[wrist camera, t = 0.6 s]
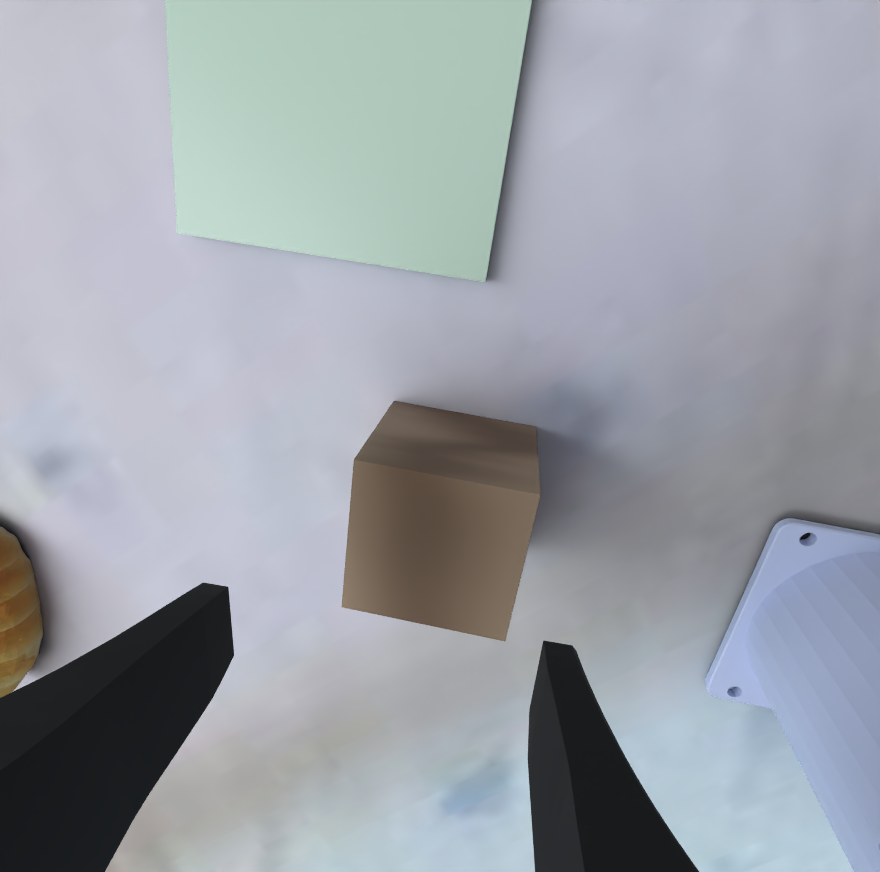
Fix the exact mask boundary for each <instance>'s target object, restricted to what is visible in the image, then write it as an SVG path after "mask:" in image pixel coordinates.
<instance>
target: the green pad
mask: <svg viewBox="0 0 880 872" xmlns="http://www.w3.org/2000/svg"><path fill="white" fill-rule="evenodd" d="M531 6H532V0H165V15H166V34H167V54H168V73H169V92H170V111H171V130H172V149H173V168H174V187H175V206H176V225H177V233H179V234H185V235H191V236H197V237H204V238H210V239H216V240H223V241H229V242H235V243H241V244H248V245H254V246H260V247H266V248H273V249H279V250H285V251H291V252H298V253H304V254H310V255H316V256H323V257H329V258H335V259H342V260H348V261H354V262H360V263H367V264H373V265H379V266H385V267H392V268H398V269H404V270H410V271H417V272H423V273H429V274H435V275H442V276H448V277H454V278H461V279H467V280H473V281H479V282H486V278H487V272H488V266H489V260H490V254H491V248H492V242H493V236H494V230H495V224H496V218H497V212H498V206H499V200H500V194H501V188H502V181H503V175H504V169H505V163H506V157H507V151H508V145H509V139H510V133H511V127H512V121H513V115H514V109H515V103H516V97H517V91H518V85H519V79H520V73H521V66H522V60H523V54H524V48H525V42H526V36H527V30H528V24H529V18H530V12H531Z"/></svg>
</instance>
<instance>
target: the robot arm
mask: <svg viewBox="0 0 880 872" xmlns="http://www.w3.org/2000/svg"><path fill="white" fill-rule="evenodd" d="M805 533H811V535H810V536H809V537H808V538H806V539H804V540H800V537H801V536H802V535H803V534H805ZM233 656H234V649H233V637H232V626H231V614H230V602H229V591H228V587H226V586H220V585H214V584H208V583H202V584H200V585H199V586H197V587H195V588H193V589H192V590H190V591H189V592H187V593H185V594H184V595H182V596H180V597H179V598H177V599H176V600H174V601H172V602H171V603H169V604H168V605H166V606H165V607H163V608H161V609H160V610H158V611H157V612H155V613H153V614H152V615H150V616H149V617H147V618H145V619H144V620H142V621H140V622H139V623H137V624H136V625H134V626H132V627H131V628H129V629H127V630H126V631H124V632H122V633H121V634H119V635H118V636H116V637H114V638H113V639H111V640H109V641H107V642H106V643H104V644H102V645H100V646H99V647H97V648H95V649H93V650H91V651H90V652H88V653H86V654H84V655H83V656H81V657H79V658H77V659H76V660H74V661H72V662H70V663H68V664H67V665H65V666H63V667H61V668H59V669H58V670H56V671H54V672H52V673H50V674H48V675H46V676H44V677H42V678H40V679H38V680H36V681H34V682H32V683H30V684H28V685H26V686H24V687H22V688H20V689H18V690H16V691H14V692H12V693H9V694H7V695H5V696H3V697H1V698H0V872H105V870H106V868H107V867H108V865H109V863H110V861H111V859H112V858H113V856H114V854H115V852H116V850H117V848H118V847H119V845H120V843H121V841H122V839H123V837H124V836H125V834H126V832H127V830H128V828H129V827H130V825H131V823H132V821H133V819H134V818H135V816H136V814H137V813H138V811H139V809H140V808H141V806H142V805H143V803H144V801H145V800H146V798H147V796H148V795H149V793H150V792H151V790H152V789H153V787H154V786H155V784H156V783H157V781H158V780H159V778H160V777H161V775H162V774H163V772H164V771H165V769H166V768H167V766H168V765H169V763H170V762H171V760H172V759H173V757H174V756H175V754H176V753H177V751H178V750H179V748H180V747H181V745H182V744H183V742H184V741H185V739H186V738H187V736H188V735H189V733H190V732H191V730H192V729H193V727H194V726H195V724H196V723H197V721H198V720H199V718H200V717H201V715H202V714H203V712H204V711H205V709H206V707H207V706H208V704H209V703H210V701H211V700H212V698H213V696H214V694H215V692H216V690H217V688H218V687H219V685H220V683H221V681H222V679H223V677H224V675H225V673H226V671H227V669H228V667H229V665H230V662H231V660H232V658H233ZM705 685H706V688H707V690H708V693H709V694H711V695H712V696H714V697H717V698H722V699H726V700H731V701H736V702H740V703H745V704H750V705H755V706H759V707H764V708H769V709H773V711H774V713H775V715H776V717H777V719H778V721H779V723H780V725H781V727H782V729H783V731H784V733H785V735H786V737H787V739H788V741H789V743H790V745H791V747H792V749H793V751H794V753H795V755H796V757H797V759H798V761H799V763H800V765H801V767H802V769H803V771H804V773H805V775H806V777H807V779H808V781H809V783H810V785H811V787H812V789H813V791H814V793H815V795H816V797H817V799H818V801H819V803H820V805H821V807H822V809H823V811H824V813H825V815H826V817H827V819H828V821H829V823H830V825H831V827H832V829H833V831H834V833H835V835H836V837H837V839H838V841H839V843H840V845H841V847H842V849H843V851H844V853H845V855H846V857H847V859H848V861H849V863H850V865H851V867H852V869H853V871H854V872H880V534H875V533H869V532H864V531H859V530H853V529H848V528H842V527H837V526H832V525H826V524H821V523H815V522H810V521H805V520H799V519H794V518H787V519H784V520H781V521H779V522H778V523H776V525H775V526H774V527H773V529H772V531H771V533H770V536H769V538H768V540H767V542H766V545H765V547H764V549H763V551H762V554H761V556H760V558H759V560H758V563H757V565H756V567H755V569H754V571H753V574H752V576H751V578H750V580H749V583H748V585H747V587H746V589H745V592H744V594H743V596H742V598H741V601H740V603H739V605H738V607H737V609H736V612H735V614H734V616H733V618H732V621H731V623H730V625H729V627H728V630H727V632H726V634H725V636H724V639H723V641H722V643H721V645H720V647H719V650H718V652H717V654H716V656H715V659H714V661H713V663H712V665H711V668H710V670H709V672H708V674H707V677H706V679H705ZM731 687H736V688H733V689H729V688H731ZM528 769H529V785H530V800H531V815H532V830H533V845H534V860H535V872H699V871H698V869H697V868H696V867H695V865H694V864H693V862H692V861H691V860H690V858H689V857H688V855H687V854H686V852H685V851H684V850H683V848H682V847H681V845H680V844H679V842H678V841H677V840H676V838H675V837H674V835H673V834H672V832H671V831H670V829H669V828H668V826H667V825H666V823H665V822H664V820H663V819H662V817H661V816H660V814H659V813H658V811H657V809H656V808H655V806H654V805H653V803H652V801H651V800H650V798H649V797H648V795H647V793H646V792H645V790H644V788H643V787H642V785H641V783H640V782H639V780H638V778H637V776H636V775H635V773H634V771H633V769H632V768H631V766H630V764H629V762H628V761H627V759H626V757H625V755H624V753H623V752H622V750H621V748H620V746H619V744H618V742H617V740H616V738H615V736H614V734H613V732H612V730H611V729H610V727H609V725H608V723H607V721H606V719H605V717H604V715H603V713H602V711H601V708H600V706H599V704H598V702H597V700H596V698H595V696H594V693H593V691H592V689H591V687H590V684H589V682H588V680H587V677H586V675H585V673H584V670H583V668H582V665H581V662H580V660H579V657H578V654H577V652H576V650H575V649H574V647H573V646H572V645H566V644H560V643H554V642H548V641H543V646H542V651H541V655H540V660H539V665H538V670H537V675H536V680H535V685H534V690H533V695H532V700H531V705H530V712H529V738H528Z"/></svg>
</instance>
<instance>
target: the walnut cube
mask: <svg viewBox="0 0 880 872" xmlns="http://www.w3.org/2000/svg"><path fill="white" fill-rule="evenodd" d="M540 496H541V493H540V478H539V463H538V448H537V433H536V426H530V425H524V424H519V423H513V422H508V421H502V420H497V419H491V418H486V417H480V416H474V415H469V414H463V413H458V412H452V411H447V410H441V409H436V408H430V407H425V406H419V405H413V404H408V403H402V402H397V401H394V402H393V403H392V405H391V406H390V407H389V409H388V410H387V412H386V413H385V415H384V416H383V418H382V419H381V421H380V422H379V424H378V425H377V427H376V428H375V430H374V431H373V432H372V434H371V435H370V437H369V438H368V440H367V441H366V443H365V444H364V446H363V447H362V449H361V450H360V452H359V453H358V454H357V456H356V457H355V459H354V465H353V477H352V489H351V501H350V513H349V525H348V537H347V549H346V561H345V573H344V585H343V598H342V607H344V608H349V609H354V610H358V611H363V612H368V613H373V614H377V615H382V616H387V617H392V618H396V619H401V620H406V621H411V622H415V623H420V624H425V625H430V626H435V627H439V628H444V629H449V630H454V631H458V632H463V633H468V634H473V635H477V636H482V637H487V638H492V639H497V640H501V641H505V640H506V636H507V632H508V628H509V624H510V620H511V615H512V611H513V607H514V603H515V599H516V595H517V591H518V586H519V582H520V578H521V574H522V570H523V566H524V562H525V558H526V553H527V549H528V545H529V541H530V537H531V533H532V529H533V524H534V520H535V516H536V512H537V508H538V504H539V500H540Z"/></svg>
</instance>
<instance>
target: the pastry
mask: <svg viewBox="0 0 880 872" xmlns="http://www.w3.org/2000/svg"><path fill="white" fill-rule="evenodd" d="M42 619H43V617H42V615H41V613H40V600H39V596H38V591H37V587H36V580H35V576H34V571H33V568H32V564H31V562H30V559H29V558H27V557H26V555H25V554H24V552H23V551H22V549H21V546H20V544H19V542H18V539H17V538H16V536H15V535H13V534H11V533H9V532H8V531H6V530H5V529H4V528H3V527H0V698H1V697H3V696H5V695H7V694H9V693H11V692H12V691H13V690H14V689H15V688H16V687H17V686H18V685H19V683H20V682H21V681H22V679H23V678H24V677H25V675H26V673H27V672H28V671H29V670H30V669H31V668H32V666H33V665H34V662H35V660H36V658H37V656H38V654H39V652H40V651H39V647H40V643H41V640H42V638H43V626H42Z"/></svg>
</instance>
